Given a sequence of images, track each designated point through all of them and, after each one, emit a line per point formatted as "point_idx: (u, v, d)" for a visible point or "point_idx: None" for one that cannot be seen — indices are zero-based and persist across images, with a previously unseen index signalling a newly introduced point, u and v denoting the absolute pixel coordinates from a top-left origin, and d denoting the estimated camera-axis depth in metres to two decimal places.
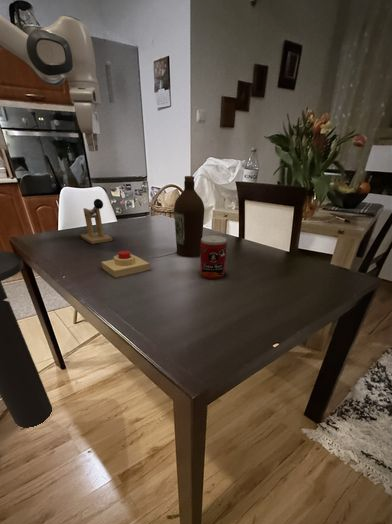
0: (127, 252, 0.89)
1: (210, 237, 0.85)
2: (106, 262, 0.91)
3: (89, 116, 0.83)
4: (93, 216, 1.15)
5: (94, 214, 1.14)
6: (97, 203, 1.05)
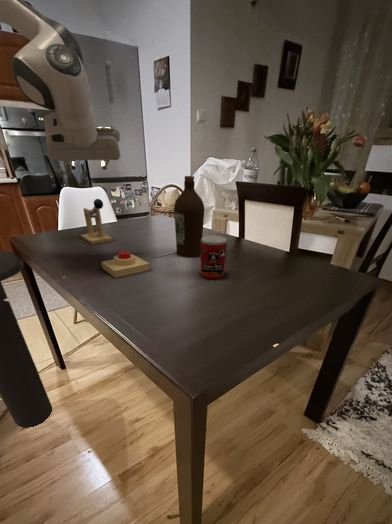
0: (127, 252, 0.89)
1: (210, 237, 0.85)
2: (106, 262, 0.91)
3: (47, 149, 0.79)
4: (93, 216, 1.15)
5: (94, 214, 1.14)
6: (97, 203, 1.05)
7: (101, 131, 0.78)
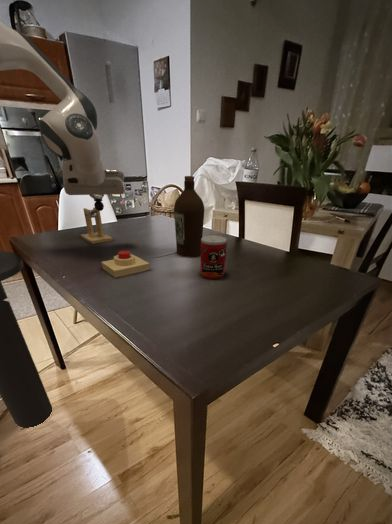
0: (127, 252, 0.89)
1: (210, 237, 0.85)
2: (106, 262, 0.91)
3: (64, 187, 0.95)
4: (93, 216, 1.15)
5: (94, 214, 1.14)
6: (98, 205, 1.05)
7: (108, 173, 0.93)
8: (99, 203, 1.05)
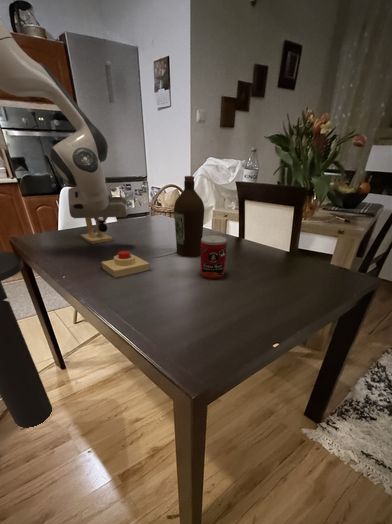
0: (127, 252, 0.89)
1: (210, 237, 0.85)
2: (106, 262, 0.91)
3: None
4: None
5: None
6: (102, 230, 1.10)
7: (112, 199, 0.98)
8: (104, 228, 1.10)
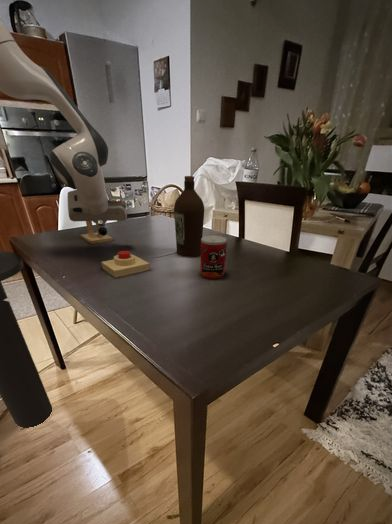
0: (127, 252, 0.89)
1: (210, 237, 0.85)
2: (106, 262, 0.91)
3: None
4: None
5: None
6: (102, 234, 1.12)
7: (111, 203, 0.98)
8: (104, 233, 1.11)
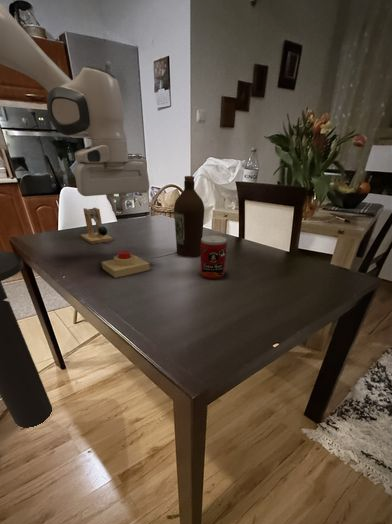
0: (127, 252, 0.89)
1: (210, 237, 0.85)
2: (106, 262, 0.91)
3: (80, 179, 0.71)
4: None
5: None
6: (102, 234, 1.12)
7: (131, 157, 0.77)
8: (104, 233, 1.11)
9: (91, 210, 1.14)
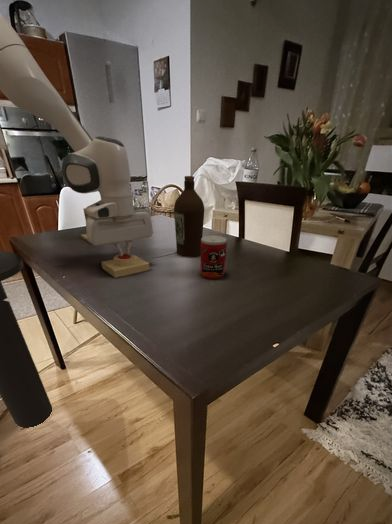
0: (127, 255, 0.90)
1: (210, 237, 0.85)
2: (106, 262, 0.91)
3: (90, 232, 0.79)
4: None
5: None
6: None
7: (136, 208, 0.84)
8: None
9: None
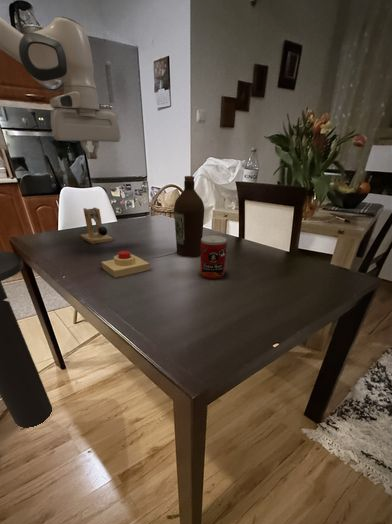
0: (127, 252, 0.89)
1: (210, 237, 0.85)
2: (106, 262, 0.91)
3: (54, 123, 0.80)
4: None
5: None
6: (102, 234, 1.12)
7: (102, 107, 0.85)
8: (104, 233, 1.11)
9: (91, 210, 1.14)
